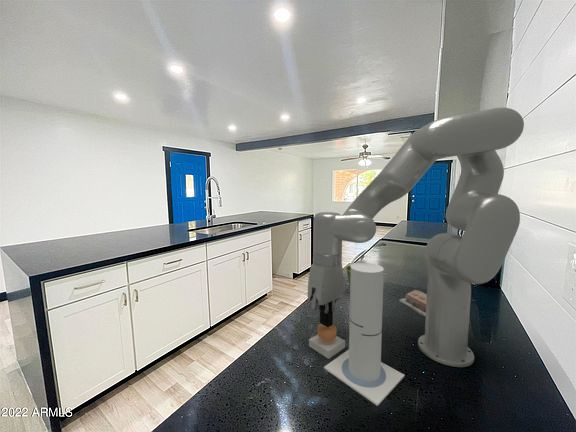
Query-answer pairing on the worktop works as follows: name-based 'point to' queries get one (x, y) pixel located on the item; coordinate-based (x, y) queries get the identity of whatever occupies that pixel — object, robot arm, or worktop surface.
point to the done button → (327, 332)
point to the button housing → (327, 345)
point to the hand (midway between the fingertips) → (326, 324)
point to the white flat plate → (369, 390)
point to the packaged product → (416, 301)
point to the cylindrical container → (365, 321)
